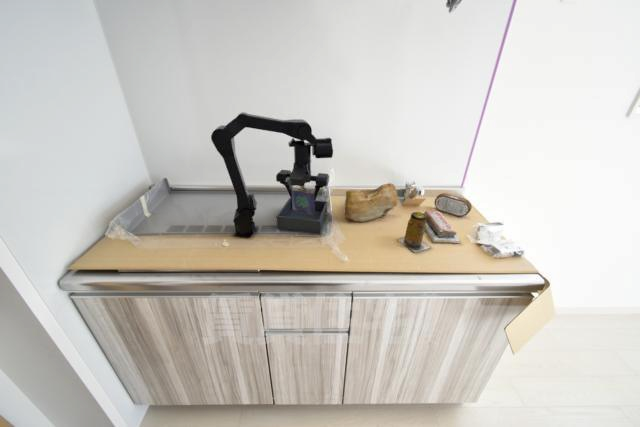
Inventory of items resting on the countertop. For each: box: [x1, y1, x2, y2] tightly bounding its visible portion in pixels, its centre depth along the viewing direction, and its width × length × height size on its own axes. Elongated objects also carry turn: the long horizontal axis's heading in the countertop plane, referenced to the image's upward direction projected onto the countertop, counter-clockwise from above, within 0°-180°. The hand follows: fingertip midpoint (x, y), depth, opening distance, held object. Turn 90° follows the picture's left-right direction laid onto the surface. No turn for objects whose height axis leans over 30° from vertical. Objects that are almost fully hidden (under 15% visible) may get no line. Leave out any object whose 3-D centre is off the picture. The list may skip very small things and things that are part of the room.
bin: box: [275, 197, 329, 235], centre depth 101 cm, size 18×18×6 cm
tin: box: [434, 192, 473, 218], centre depth 109 cm, size 15×3×8 cm, turn 49°
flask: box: [291, 185, 315, 214], centre depth 91 cm, size 9×3×11 cm, turn 69°
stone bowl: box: [343, 182, 399, 223], centre depth 106 cm, size 23×17×15 cm
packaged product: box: [423, 210, 461, 244], centre depth 96 cm, size 18×5×10 cm
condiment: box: [398, 211, 430, 253], centre depth 86 cm, size 7×8×12 cm
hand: (303, 198), depth 92 cm, fingers closed on flask, 9 cm apart
